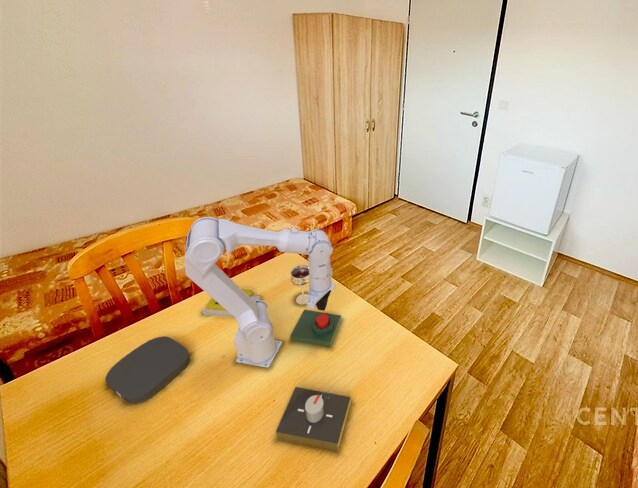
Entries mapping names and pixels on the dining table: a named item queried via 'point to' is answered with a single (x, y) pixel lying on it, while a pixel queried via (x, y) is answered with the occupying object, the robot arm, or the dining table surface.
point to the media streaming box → (147, 369)
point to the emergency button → (218, 310)
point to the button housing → (315, 329)
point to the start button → (322, 320)
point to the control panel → (320, 432)
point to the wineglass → (300, 281)
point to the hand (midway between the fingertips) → (321, 308)
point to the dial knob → (314, 408)
